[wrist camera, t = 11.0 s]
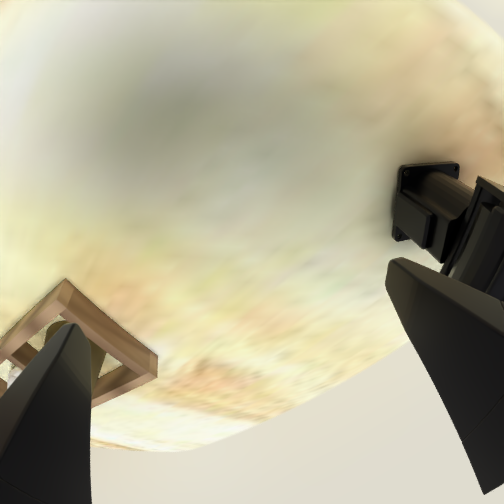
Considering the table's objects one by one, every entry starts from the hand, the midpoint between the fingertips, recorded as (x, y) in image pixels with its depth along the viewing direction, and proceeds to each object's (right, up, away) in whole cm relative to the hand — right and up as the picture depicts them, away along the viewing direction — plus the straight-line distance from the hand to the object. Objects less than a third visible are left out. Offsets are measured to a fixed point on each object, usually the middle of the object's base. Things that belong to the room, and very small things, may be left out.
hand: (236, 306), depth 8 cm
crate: (-20, -10, +17) cm, 28 cm away
